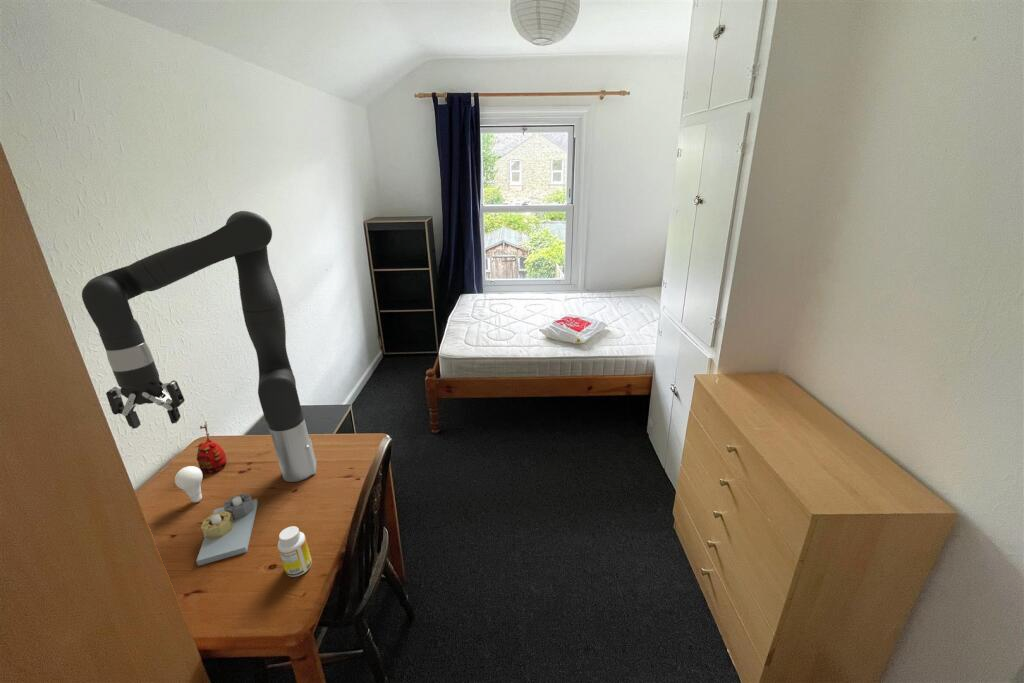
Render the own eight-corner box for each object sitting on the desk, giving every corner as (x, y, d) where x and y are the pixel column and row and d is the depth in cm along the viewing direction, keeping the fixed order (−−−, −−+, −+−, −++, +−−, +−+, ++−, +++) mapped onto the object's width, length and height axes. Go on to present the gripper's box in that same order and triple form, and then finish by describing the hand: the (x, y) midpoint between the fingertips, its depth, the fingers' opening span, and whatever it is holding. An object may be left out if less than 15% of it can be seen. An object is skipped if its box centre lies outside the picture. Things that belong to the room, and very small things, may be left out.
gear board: (257, 503, 121) (252, 486, 119) (246, 551, 105) (240, 534, 103) (215, 514, 117) (209, 497, 115) (198, 565, 102) (190, 547, 100)
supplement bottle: (305, 553, 104) (295, 519, 100) (316, 565, 100) (307, 530, 97) (281, 569, 100) (270, 534, 96) (292, 582, 96) (281, 546, 93)
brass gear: (235, 518, 114) (232, 508, 113) (230, 534, 108) (227, 525, 107) (209, 524, 112) (205, 515, 111) (202, 542, 106) (198, 532, 105)
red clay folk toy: (195, 475, 134) (179, 432, 128) (210, 460, 140) (196, 419, 135) (219, 474, 133) (205, 431, 128) (234, 460, 140) (220, 419, 135)
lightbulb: (182, 512, 119) (169, 478, 115) (186, 498, 124) (173, 466, 120) (209, 504, 121) (197, 470, 117) (211, 491, 126) (200, 458, 122)
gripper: (175, 353, 106) (195, 412, 112) (108, 360, 104) (132, 420, 109) (158, 366, 99) (181, 428, 105) (86, 373, 97) (113, 437, 103)
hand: (156, 424), depth 107 cm, fingers open, 8 cm apart
